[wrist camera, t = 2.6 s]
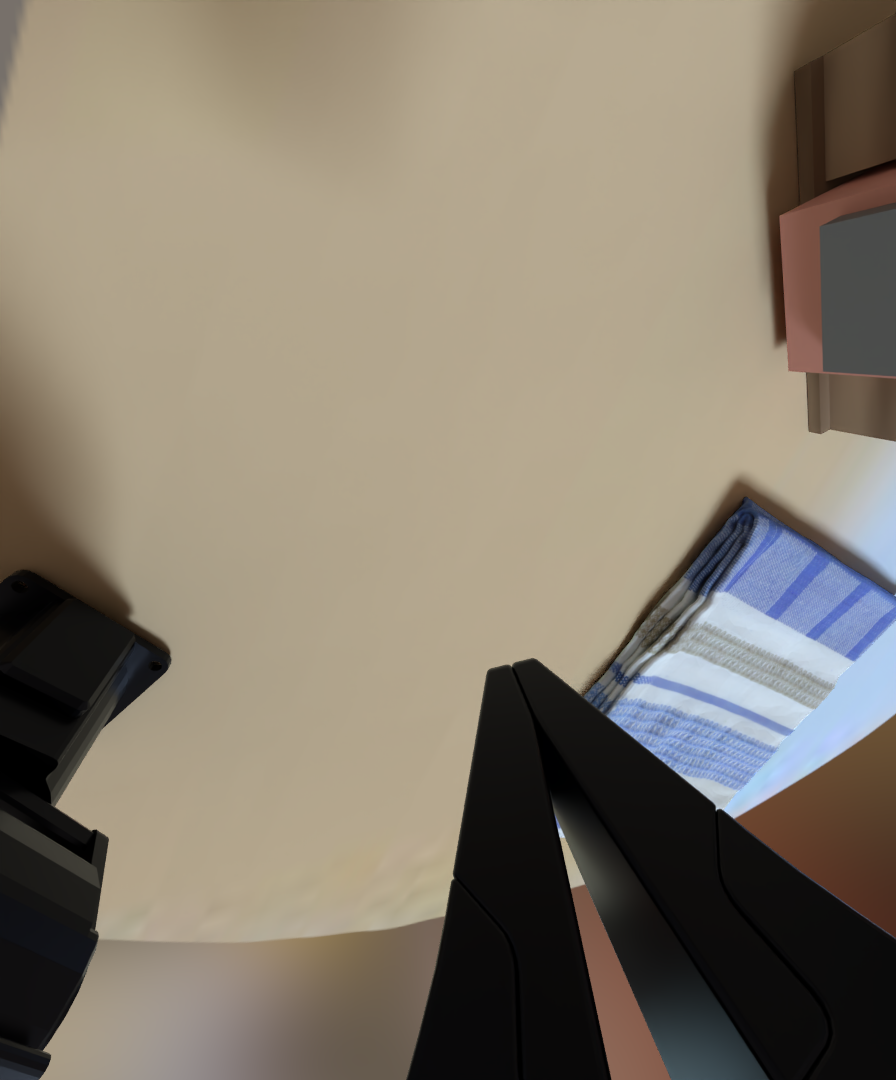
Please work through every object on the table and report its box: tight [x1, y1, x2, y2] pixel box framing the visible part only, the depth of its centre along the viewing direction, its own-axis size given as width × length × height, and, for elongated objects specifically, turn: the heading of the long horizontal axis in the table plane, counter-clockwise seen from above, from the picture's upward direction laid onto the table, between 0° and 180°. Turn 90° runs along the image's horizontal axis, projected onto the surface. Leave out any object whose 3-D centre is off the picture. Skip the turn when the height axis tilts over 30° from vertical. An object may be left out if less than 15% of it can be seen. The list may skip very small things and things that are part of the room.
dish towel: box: [555, 497, 896, 838], centre depth 28 cm, size 17×24×3 cm
